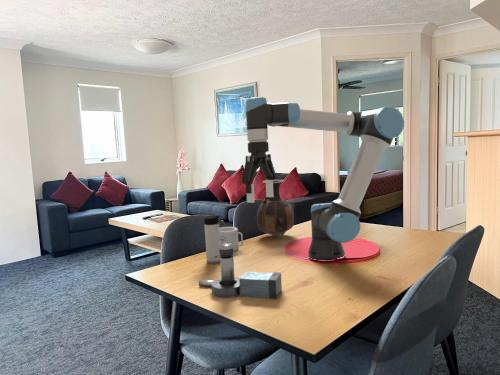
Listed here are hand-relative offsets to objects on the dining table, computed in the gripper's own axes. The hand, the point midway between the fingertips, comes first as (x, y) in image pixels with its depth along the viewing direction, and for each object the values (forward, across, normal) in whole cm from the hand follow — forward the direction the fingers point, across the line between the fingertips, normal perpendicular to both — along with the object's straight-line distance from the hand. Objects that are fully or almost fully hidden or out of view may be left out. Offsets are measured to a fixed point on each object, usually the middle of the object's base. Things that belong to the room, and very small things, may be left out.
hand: (260, 199), depth 138 cm
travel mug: (+29, -6, -28) cm, 41 cm away
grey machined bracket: (+29, +18, -1) cm, 34 cm away
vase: (+29, -53, -25) cm, 66 cm away
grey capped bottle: (+29, +18, -3) cm, 34 cm away
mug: (+29, -24, -33) cm, 50 cm away
